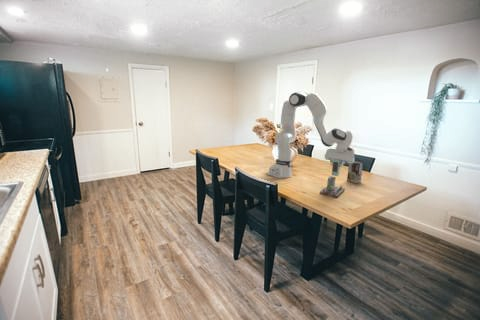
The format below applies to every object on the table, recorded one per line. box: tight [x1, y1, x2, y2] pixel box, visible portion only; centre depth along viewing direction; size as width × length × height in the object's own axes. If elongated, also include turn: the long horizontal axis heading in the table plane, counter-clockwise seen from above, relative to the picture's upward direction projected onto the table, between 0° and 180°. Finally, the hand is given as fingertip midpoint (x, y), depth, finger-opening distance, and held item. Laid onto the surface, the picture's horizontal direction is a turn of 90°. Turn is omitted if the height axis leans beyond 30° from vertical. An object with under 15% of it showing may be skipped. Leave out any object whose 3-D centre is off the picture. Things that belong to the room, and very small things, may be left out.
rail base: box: [319, 175, 345, 199], centre depth 177 cm, size 12×18×12 cm, turn 142°
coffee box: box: [346, 160, 364, 184], centre depth 201 cm, size 9×6×16 cm
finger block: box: [331, 159, 341, 177], centre depth 175 cm, size 4×4×11 cm
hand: (336, 165), depth 175 cm, fingers closed on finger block, 4 cm apart
